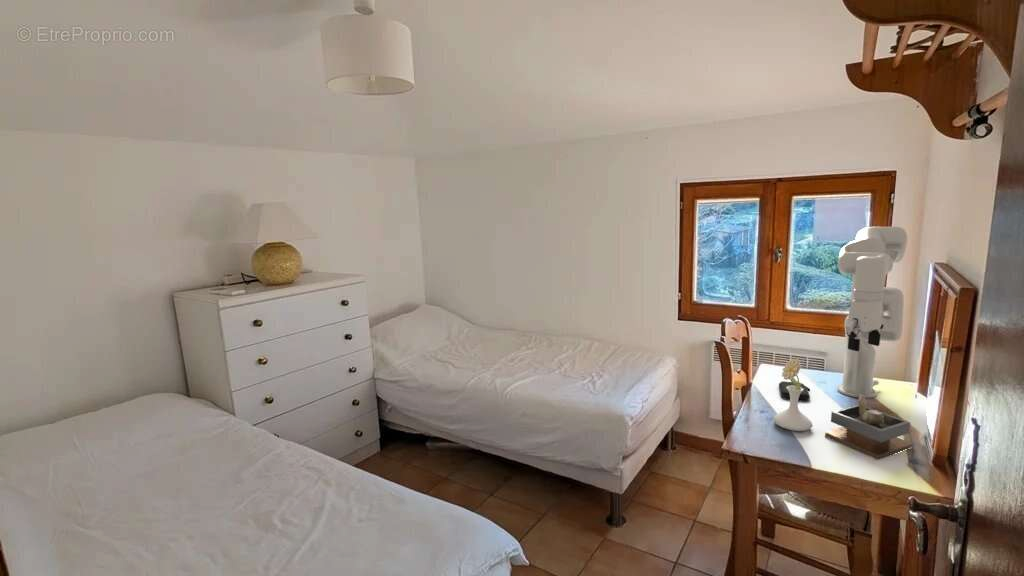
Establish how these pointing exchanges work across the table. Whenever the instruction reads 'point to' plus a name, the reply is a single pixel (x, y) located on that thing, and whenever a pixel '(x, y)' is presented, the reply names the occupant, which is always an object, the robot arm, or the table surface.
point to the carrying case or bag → (785, 393)
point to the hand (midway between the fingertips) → (863, 347)
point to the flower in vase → (793, 401)
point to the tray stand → (869, 433)
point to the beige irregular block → (869, 413)
